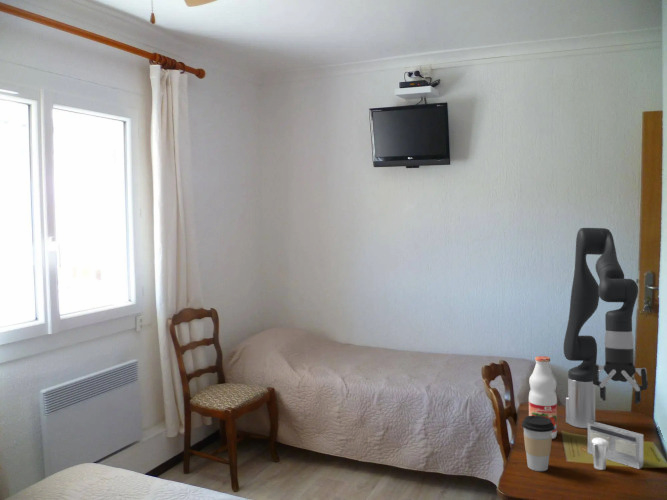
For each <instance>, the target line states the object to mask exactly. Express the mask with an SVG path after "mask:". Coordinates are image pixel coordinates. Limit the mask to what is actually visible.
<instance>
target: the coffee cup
mask: <svg viewBox="0 0 667 500" xmlns="http://www.w3.org/2000/svg"><path fill="white" fill-rule="evenodd" d="M521 427H522V428H523V438H524V439H523V441H524V448H525V453H526V455H525V456H526V462H527V464H526V465H527V467H528V468H529V469H530V470H532V471H535V472H545V471H547V470H549V462H550V455H551V451H552V449H551V448H552V440H553V439H552V430H553V429H554V425H553V423H552V422H551V420H550V419H549V418H546V417H543V416H529V415H528V416H525V417H524V419H523V420H522V423H521Z"/></svg>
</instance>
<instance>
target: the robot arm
mask: <svg viewBox="0 0 667 500" xmlns="http://www.w3.org/2000/svg"><path fill="white" fill-rule="evenodd" d="M587 255H596V256H598V255H599V257H598V258H597V260H596V263H595V272H596V274H597V277H598V279H599V284H598V281H597V280H596V279H595V277H594V275H593V274H592V272H591V270H590V268H589V266H588V263H587ZM571 286H572V287H571V292H570V293H571V294H570V300H569V301H570V303H569V312H568V313H569V314H568V321H567V325H566V331H565V335H564V339H563V340H564V341H563V355H564V357H565V359H566V360H568V361H570V362H571V361H573V362H574V361H575V362H580V361H581V363H580V364H579V365H577V366H574V367H572V368H570V369H569V370H568V372H567V373H568V374H567V396H566V397H565V423H567V424H569V425H570V426H572V427H576V428H580V429H588V423H589V422H591V421H594V422H596V386H597V387H599V397H600V399H602V401H603V402H606V401H607V387H606V385H607V384H608V383H609V382H610V381H611V380H612V381H614V382H619V381H620V382H623V383H627V382H628V383H629V385H631V386H632V388H633V389H634V404H635V405H639V404H640V403H641V401H642V391H646V390H647V389H648V388H649V384H648V371H647V368H646V367H642V368H641V367H640V368H639V367H637V368H636V367H635V353H634V352H635V351H634V349H635V348H634V334H633V313H634V308H635V306H636V301H637V298H638V294H639V286H638V283H636V281H635V280H634V279H632V278H625V273H624V271H623V268H622V266H621V265H620V263H619V259H618V254H617V250H616V246H615V240H614V235H613V234H612V232H611V231H610V229H608V228H605V227H581V228H579V229H578V231H577V233H576V239H575V258H574V271H573V280H572V285H571ZM600 300H602V301H603V302H605V303H622V306H621V307H620V308H618V309H614V310H613V309H612V310H608V311H606V313H605V317H604V318H605V319H604V320H605V323H604V324H605V334H604V357H605V358H604V359H605V364H604V365H603V364H601V365H600V364H598V363H597V359H598V344H597V343H598V342H597V341H596V339H595V337H594V336H592V335H580V333H581V329H582V328H583V326H584V325H585V324H586V322H588V320H589V319H590V318H591V317H593V314H594V313H595V312H596V311H597V309H598V306H599V302H600ZM602 370H603V371H604V372H605V373H606V374H607V375H606V377H604V378H603V380H602V381H600V380H599V379H600V377H599V376H600V373H601V372H602ZM635 373H637V374H638V375H639V377H641V385H640V384H638V382H637V380H636V379H635V378H634V377H633V376H634V375H635Z"/></svg>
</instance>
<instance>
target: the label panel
mask: <svg viewBox="0 0 667 500" xmlns="http://www.w3.org/2000/svg"><path fill="white" fill-rule="evenodd" d="M610 436H611V438H610ZM594 438H602V439H605V440H606V441H607V442H608V440H609V438H610V440H609V442H608V448H607V456H606V460H609V461H612V462H614V463H619V464H622V465H625V466H627V467H628V466H629V467H631V468H634V469H638V470H640V469H642V468H643V467H644V434H643V433H639V432H634V431H632V430H631V431H630V430H627V429H624V428H619V427H617V426H613V425H609V424H605V423H602V422H597V421H595V422H594V421H591V422H589V423H588V428H587V454H589V455H592V456H593V449H592V440H593V439H594Z"/></svg>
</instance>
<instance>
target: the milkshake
mask: <svg viewBox="0 0 667 500" xmlns="http://www.w3.org/2000/svg"><path fill="white" fill-rule="evenodd" d="M610 438H611V436H610ZM610 438H609V440H610ZM609 440H608V442H609ZM608 442H607V441H606V440H605V439H602V438H594V439H593V440H592V449H593V455H592V459H593V460H592V461H593V468H594V469H596V470H599V471H603V470H606V466H607V459H606V456H607V448H608Z"/></svg>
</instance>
